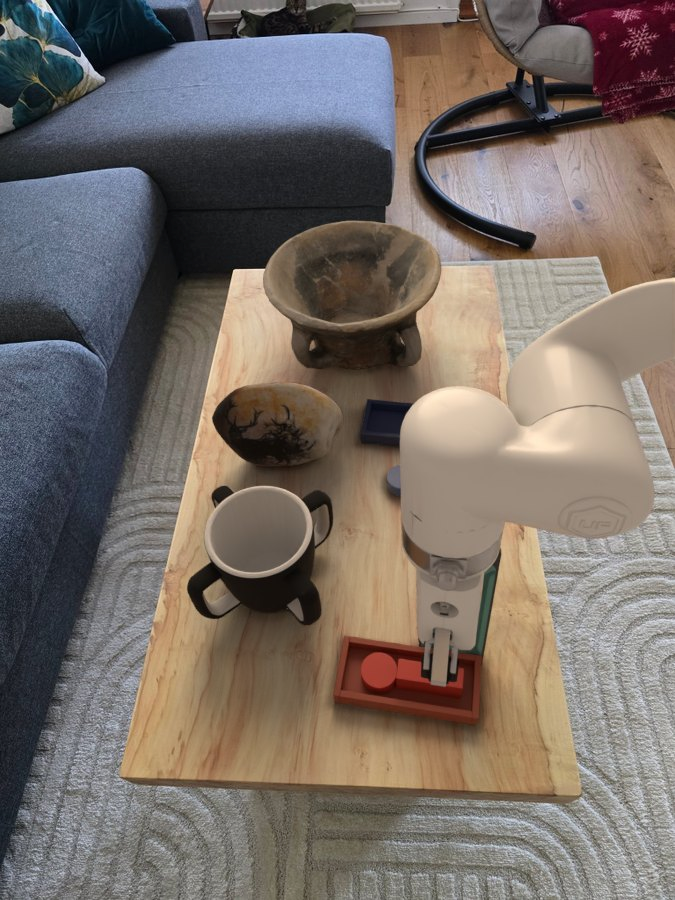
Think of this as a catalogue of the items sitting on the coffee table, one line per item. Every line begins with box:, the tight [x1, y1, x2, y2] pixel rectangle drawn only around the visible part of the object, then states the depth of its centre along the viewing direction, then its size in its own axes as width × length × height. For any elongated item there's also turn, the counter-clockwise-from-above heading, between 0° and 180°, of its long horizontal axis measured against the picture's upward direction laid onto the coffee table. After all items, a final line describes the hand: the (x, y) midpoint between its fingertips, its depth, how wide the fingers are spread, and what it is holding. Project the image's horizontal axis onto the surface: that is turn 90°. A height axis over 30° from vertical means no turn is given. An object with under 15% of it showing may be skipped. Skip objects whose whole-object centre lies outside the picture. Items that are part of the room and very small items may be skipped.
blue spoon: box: [386, 464, 401, 497], centre depth 91 cm, size 11×4×3 cm, turn 80°
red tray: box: [332, 635, 483, 726], centre depth 75 cm, size 15×7×2 cm, turn 80°
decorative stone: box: [211, 381, 344, 467], centre depth 91 cm, size 18×9×15 cm, turn 90°
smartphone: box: [417, 547, 502, 667], centre depth 74 cm, size 7×1×15 cm
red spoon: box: [361, 652, 464, 698], centre depth 74 cm, size 11×4×3 cm, turn 80°
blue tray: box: [359, 398, 415, 448], centre depth 98 cm, size 15×7×2 cm, turn 80°
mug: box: [186, 485, 334, 627], centre depth 80 cm, size 16×16×12 cm
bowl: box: [262, 220, 442, 370], centre depth 106 cm, size 27×26×15 cm
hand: (443, 626), depth 64 cm, fingers open, 9 cm apart
